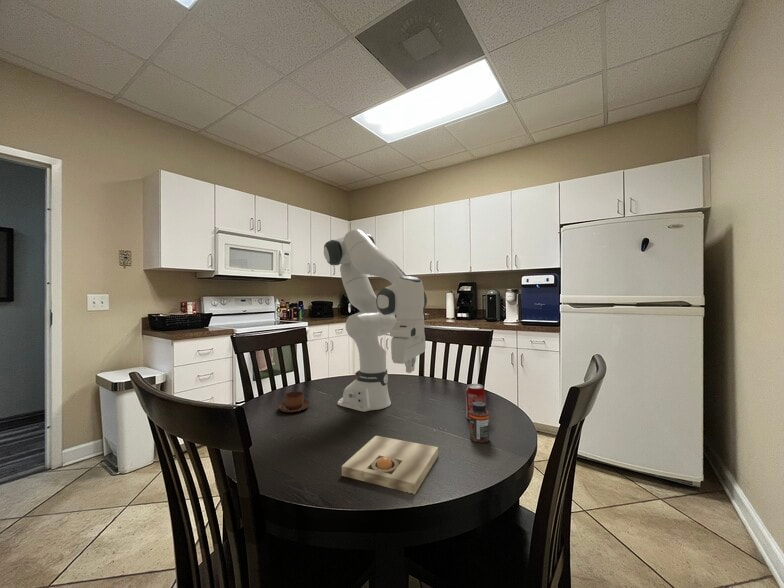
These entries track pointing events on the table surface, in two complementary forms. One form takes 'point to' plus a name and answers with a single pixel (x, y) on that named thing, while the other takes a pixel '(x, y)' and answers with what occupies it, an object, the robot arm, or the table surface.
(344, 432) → the table surface
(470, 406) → the soda can
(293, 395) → the cup and saucer
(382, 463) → the ball
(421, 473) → the light wooden flat slab
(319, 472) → the table surface
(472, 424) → the supplement bottle
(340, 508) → the table surface
